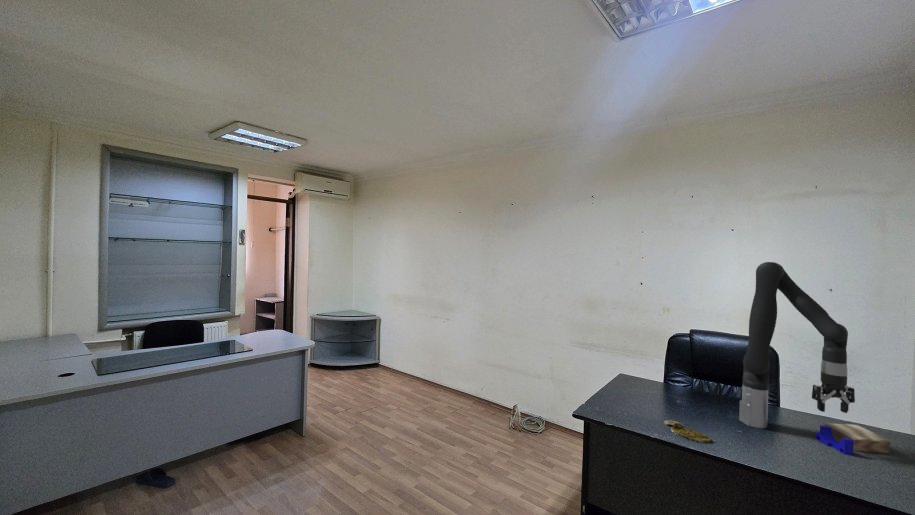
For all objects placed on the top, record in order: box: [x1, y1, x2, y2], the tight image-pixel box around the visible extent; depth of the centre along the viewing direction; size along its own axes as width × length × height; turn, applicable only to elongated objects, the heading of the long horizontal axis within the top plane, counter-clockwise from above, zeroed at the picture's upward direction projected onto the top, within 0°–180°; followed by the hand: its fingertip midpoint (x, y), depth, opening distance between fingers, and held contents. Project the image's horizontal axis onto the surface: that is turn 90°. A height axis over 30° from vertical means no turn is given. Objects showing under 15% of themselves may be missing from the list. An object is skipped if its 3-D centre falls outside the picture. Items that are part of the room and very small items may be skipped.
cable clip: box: [815, 424, 855, 456], centre depth 147 cm, size 12×4×6 cm, turn 170°
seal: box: [670, 422, 713, 444], centre depth 153 cm, size 9×5×15 cm
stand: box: [824, 422, 891, 454], centre depth 150 cm, size 13×13×5 cm
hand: (832, 411), depth 147 cm, fingers open, 8 cm apart
